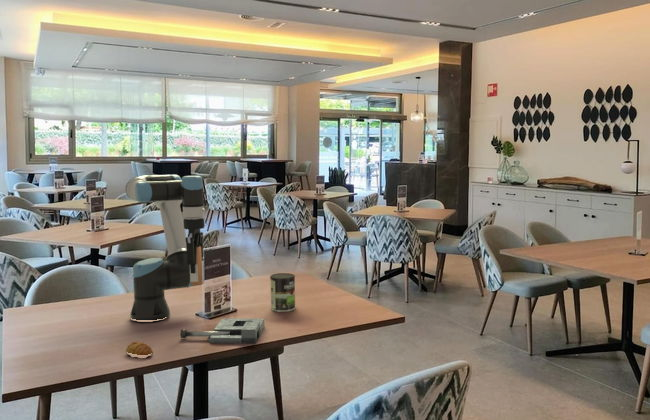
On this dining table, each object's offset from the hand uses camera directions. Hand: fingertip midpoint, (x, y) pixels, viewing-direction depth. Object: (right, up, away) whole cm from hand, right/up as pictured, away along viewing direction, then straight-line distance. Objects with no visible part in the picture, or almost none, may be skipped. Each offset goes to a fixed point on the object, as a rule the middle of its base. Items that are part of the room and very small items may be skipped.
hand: (196, 279), depth 211 cm
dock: (+17, -19, -6) cm, 26 cm away
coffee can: (+30, -16, +26) cm, 43 cm away
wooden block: (0, -2, 0) cm, 2 cm away
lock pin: (+6, -19, -10) cm, 23 cm away
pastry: (-13, -22, -24) cm, 35 cm away
